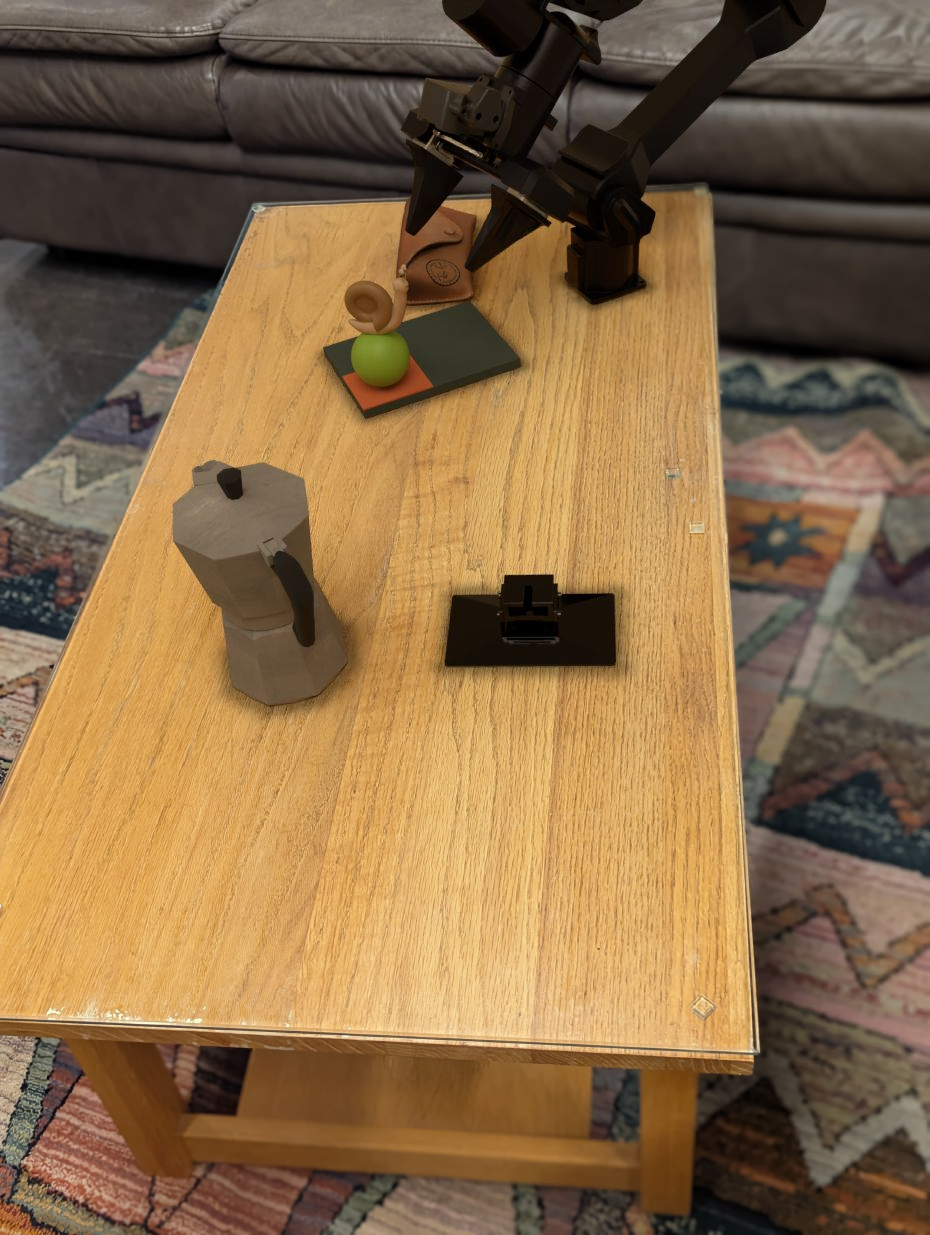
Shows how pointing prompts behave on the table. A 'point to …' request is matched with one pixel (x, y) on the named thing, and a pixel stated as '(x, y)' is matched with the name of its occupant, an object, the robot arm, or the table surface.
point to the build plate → (531, 627)
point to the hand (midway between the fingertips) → (438, 251)
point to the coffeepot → (261, 578)
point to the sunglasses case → (437, 257)
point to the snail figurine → (378, 331)
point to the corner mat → (430, 359)
